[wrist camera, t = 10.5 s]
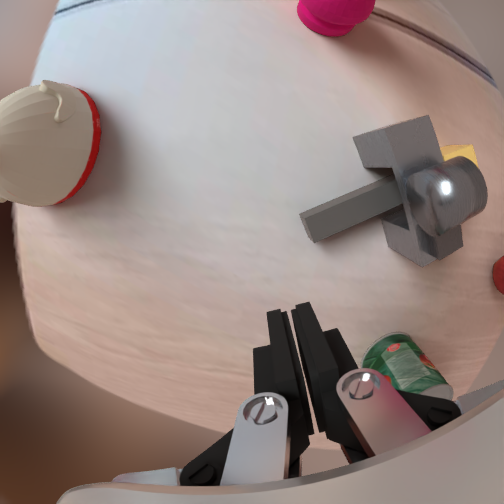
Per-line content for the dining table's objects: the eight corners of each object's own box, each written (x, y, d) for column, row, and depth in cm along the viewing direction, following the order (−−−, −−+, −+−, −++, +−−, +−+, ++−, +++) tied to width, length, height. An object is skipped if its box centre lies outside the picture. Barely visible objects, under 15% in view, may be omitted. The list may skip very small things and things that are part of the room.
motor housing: (352, 137, 24) (418, 119, 13) (391, 124, 23) (465, 107, 12) (388, 246, 27) (454, 288, 16) (423, 229, 27) (494, 260, 15)
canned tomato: (349, 364, 31) (378, 428, 21) (394, 321, 30) (440, 375, 19) (380, 386, 33) (409, 441, 22) (421, 348, 31) (461, 397, 21)
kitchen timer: (73, 65, 21) (-13, 27, 6) (122, 147, 24) (16, 135, 9) (7, 146, 23) (-78, 151, 8) (46, 227, 26) (-47, 267, 11)
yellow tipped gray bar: (295, 206, 26) (305, 213, 21) (447, 145, 24) (472, 144, 19) (310, 243, 27) (322, 257, 22) (456, 177, 25) (481, 181, 20)
